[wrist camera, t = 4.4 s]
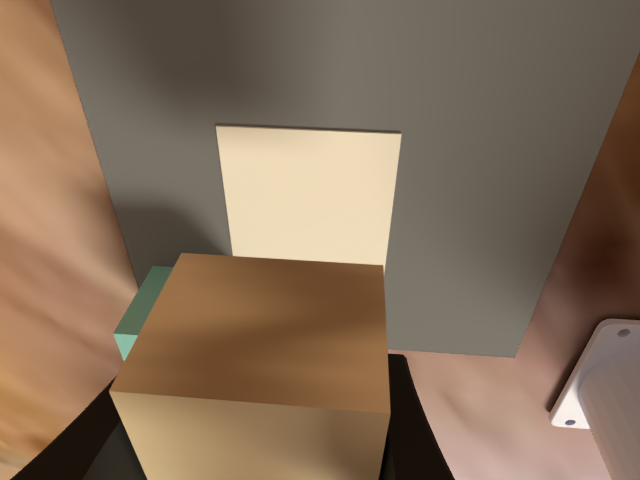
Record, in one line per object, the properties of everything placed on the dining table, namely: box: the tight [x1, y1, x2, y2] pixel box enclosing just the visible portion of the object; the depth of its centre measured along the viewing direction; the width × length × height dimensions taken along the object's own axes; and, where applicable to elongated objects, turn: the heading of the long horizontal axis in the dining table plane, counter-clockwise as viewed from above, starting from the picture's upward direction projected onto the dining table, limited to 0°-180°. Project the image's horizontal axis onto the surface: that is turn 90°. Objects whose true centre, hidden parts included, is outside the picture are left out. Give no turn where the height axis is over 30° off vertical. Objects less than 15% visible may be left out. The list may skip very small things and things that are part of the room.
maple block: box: [109, 253, 391, 480], centre depth 11 cm, size 5×5×4 cm
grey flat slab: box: [50, 0, 640, 358], centre depth 17 cm, size 18×18×1 cm
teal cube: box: [113, 266, 174, 361], centre depth 20 cm, size 4×4×4 cm
